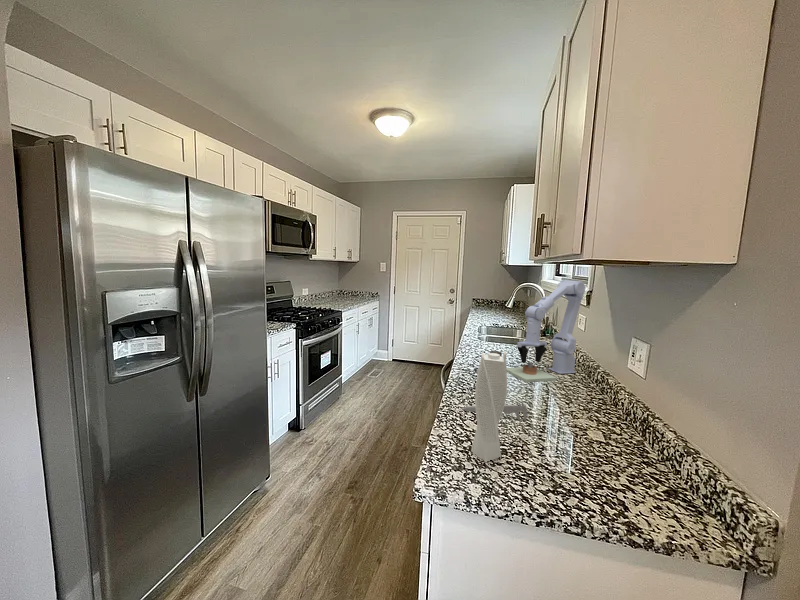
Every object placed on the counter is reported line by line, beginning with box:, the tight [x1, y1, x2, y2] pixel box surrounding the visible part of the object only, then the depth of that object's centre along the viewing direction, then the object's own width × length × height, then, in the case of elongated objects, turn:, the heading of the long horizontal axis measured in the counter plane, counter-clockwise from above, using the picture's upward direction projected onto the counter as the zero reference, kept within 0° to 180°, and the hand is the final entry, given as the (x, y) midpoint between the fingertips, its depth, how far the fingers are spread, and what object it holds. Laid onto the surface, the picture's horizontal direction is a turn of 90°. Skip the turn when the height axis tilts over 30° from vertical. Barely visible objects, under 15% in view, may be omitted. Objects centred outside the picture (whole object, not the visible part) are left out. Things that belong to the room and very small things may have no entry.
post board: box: [506, 362, 558, 383], centre depth 153 cm, size 16×16×6 cm
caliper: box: [461, 401, 528, 422], centre depth 109 cm, size 20×1×6 cm, turn 71°
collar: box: [522, 364, 538, 375], centre depth 153 cm, size 6×6×3 cm
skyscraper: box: [470, 350, 508, 463], centre depth 84 cm, size 8×8×28 cm
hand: (530, 362), depth 152 cm, fingers open, 7 cm apart
